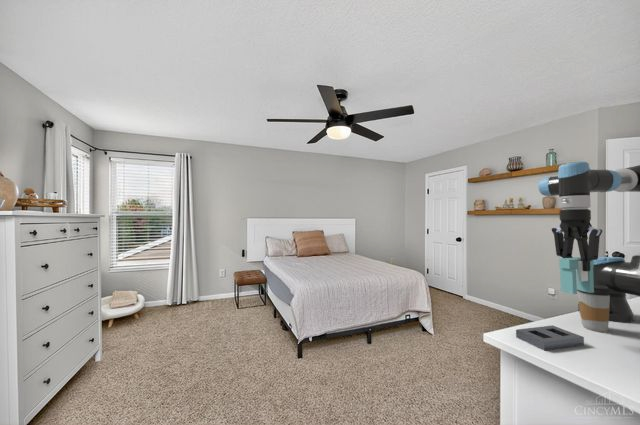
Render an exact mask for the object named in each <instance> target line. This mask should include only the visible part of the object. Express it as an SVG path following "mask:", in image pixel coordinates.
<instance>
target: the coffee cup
mask: <svg viewBox="0 0 640 425" xmlns="http://www.w3.org/2000/svg"><path fill="white" fill-rule="evenodd" d="M610 295H611V294H610V291H609V289H608V287H606V286H602V285H597V284H594V293H589V292H585V291H580V290H577V296H578V304H579V308H580V312H579V313H580V320H581V325H582V326H583V328H584V329H586V330H589V331H591V332H597V333H607V332H608V331H609V322H610V320H609V310H610V306H609V303H610Z"/></svg>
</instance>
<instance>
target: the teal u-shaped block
mask: <svg viewBox="0 0 640 425" xmlns="http://www.w3.org/2000/svg"><path fill="white" fill-rule="evenodd" d="M579 259H581V257H580V256H579V257H573V258H562V257H560V258H558V266H559V274H560V291H561V292H563V293H567V294H571V295H578V291H577V290H580V291H585V292H589V293H594V279H593V268H594V263H593V260H591V261H590V271H588V281H579V272H578V261H580V260H579Z"/></svg>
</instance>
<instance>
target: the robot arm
mask: <svg viewBox="0 0 640 425" xmlns="http://www.w3.org/2000/svg"><path fill="white" fill-rule="evenodd" d="M557 173H558V175H556V176H554V175H553V176H548V177H544V178H542V179H541V180H540V181H539V182H538V192H539V193H540V194H541V195H542V196H545V197H555V196H558V200H559V201H558V205H559V209H560V210H559V220H560V224H559V226H557V227H553V228H552V227H551V231H552V234H553V237H554V245H555V252H556V253H555V254H556V256H557V257H560V258H574V257H573V256H572V255H573V249H574V243H575V242H574V241H575V240H576V242H577V247H578V252H579V258H580V257H581V259H579V260H580V261H578V272H579V281H588V271H590V261H591V260H593V263H594V268H593V279H594V284H597V285H602V286H606V287H608V289H609V291H610V294H611V295H610V303H609V306H610V310H609V322H610V321H611V322H619V323H621V322H622V323H628V322H629V323H630V322H634V320H635V317H634V316H635V315H634V312H633V310H632V308H631V306H630V304H629V302H628V300H627V297H626V296H627V295H633V296H637V297H640V253H636V254H633V256H632V257H631V260H630V261H629V262H628V261H626V260H625V258H624V257H621V256H620V257H619V256H601V257H600V256H599V253H600V252H599V248H600V237H601V235H602V233H603V230H602V229H601V228H596V227H594V226H593V225H592V224H591V220H592V214H591V213H592V212H591V211H592V210H590V209H589V208H591V193H606V192H607V193H609V192H613V191H614V192H618V193H626V192H634V193H636V192H637V193H640V164H639V165H635V166H630V167H625V168H618V169H615V170H611V169H591V167H590V164H589V162H586V161H574V162H567V163H563V164H561V165H559V167H558V172H557ZM588 234H589V236H588ZM577 311H578V312H579V311H580V308H579V303H577Z"/></svg>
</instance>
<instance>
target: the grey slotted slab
mask: <svg viewBox="0 0 640 425" xmlns="http://www.w3.org/2000/svg"><path fill="white" fill-rule="evenodd" d="M515 335H516V336H515V338H517V339H519V340H521V341H523V342H525V343H528V344H530V345H532V346H534V347H536V348H538V349H540V350H543V351H544V352H546V351H551V349H552V350H558V349H565V348H573V347H582V346H585V336H582V335H580V334H577V333H573V332H572V331H569V330H566V329H563V328H560V327H558V326H556V325H546V326H544V325H543V326H538V327H537V326H535V327H530V328H529V327H526V328H518V329H515Z"/></svg>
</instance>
